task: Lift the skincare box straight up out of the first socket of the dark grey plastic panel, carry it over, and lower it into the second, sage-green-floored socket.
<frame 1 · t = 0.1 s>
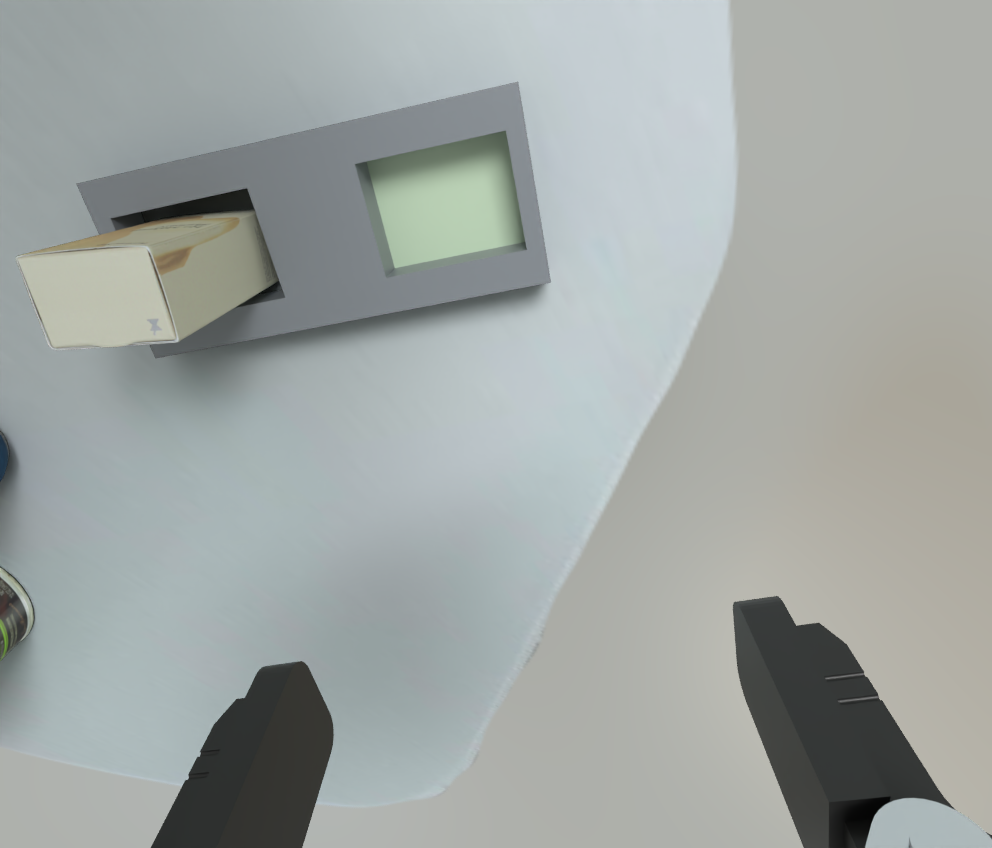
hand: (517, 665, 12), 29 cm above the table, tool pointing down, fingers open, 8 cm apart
panel: (333, 226, 37), on the table
skincare box: (224, 248, 38), resting in panel
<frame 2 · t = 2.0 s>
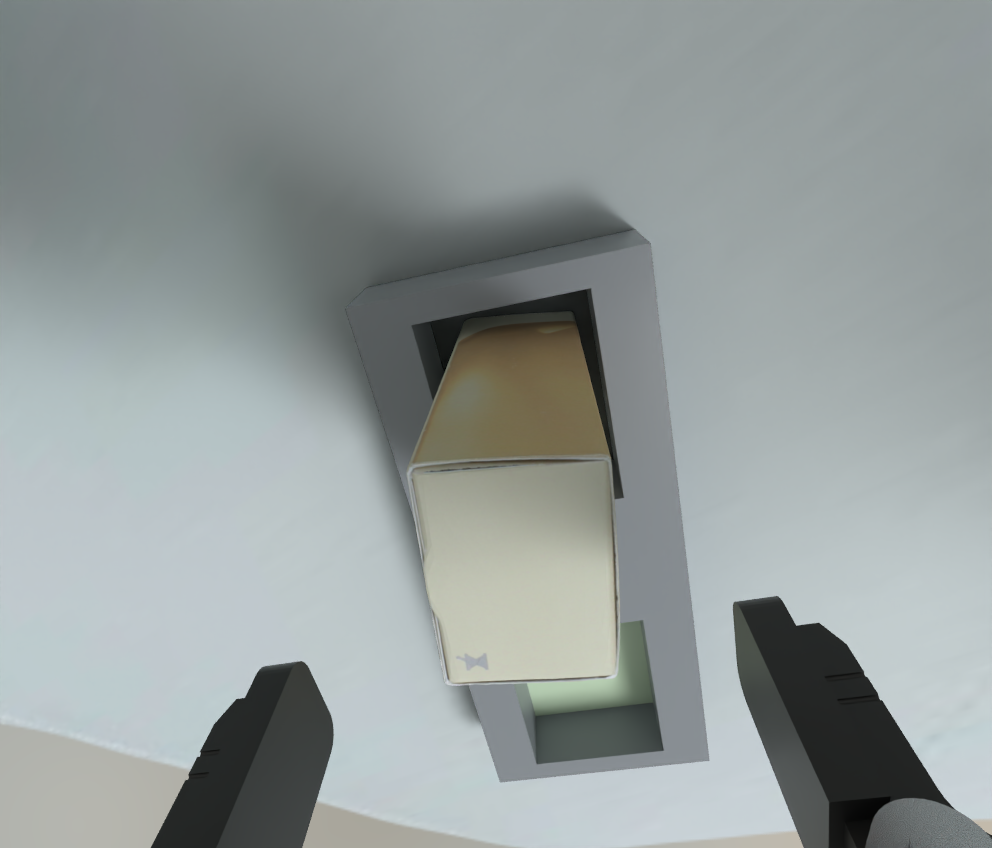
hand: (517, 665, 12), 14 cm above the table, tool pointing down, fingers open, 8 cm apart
panel: (555, 529, 27), on the table
skincare box: (524, 382, 25), resting in panel
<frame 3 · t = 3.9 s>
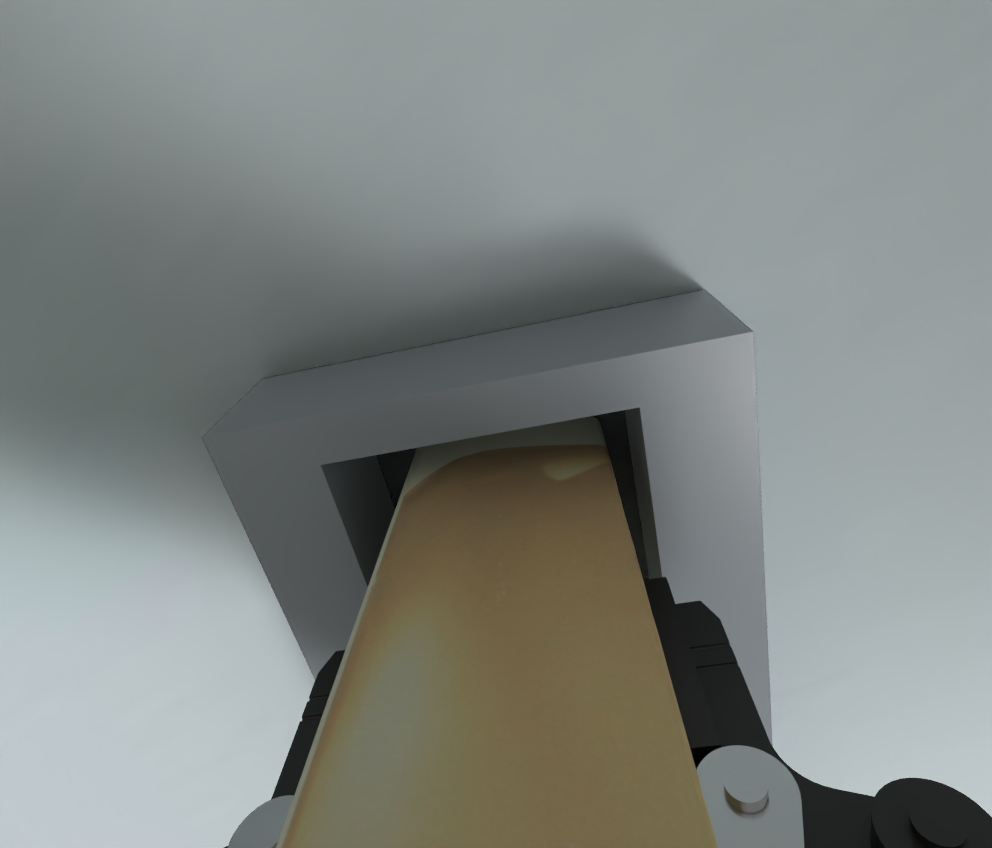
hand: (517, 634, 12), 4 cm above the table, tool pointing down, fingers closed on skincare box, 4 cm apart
panel: (565, 714, 19), on the table
skincare box: (518, 518, 16), resting in panel, touching gripper
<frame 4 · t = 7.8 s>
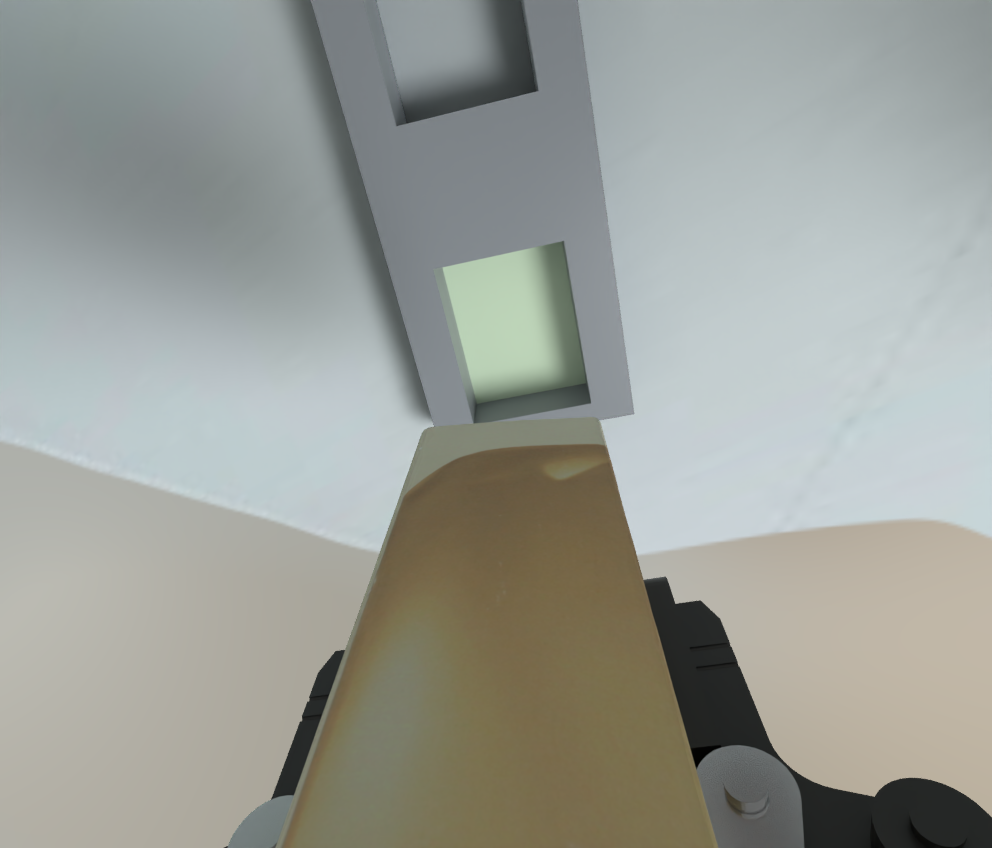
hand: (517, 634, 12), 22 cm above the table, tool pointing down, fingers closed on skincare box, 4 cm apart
panel: (486, 180, 29), on the table
skincare box: (519, 517, 16), point 18 cm above the table, touching gripper
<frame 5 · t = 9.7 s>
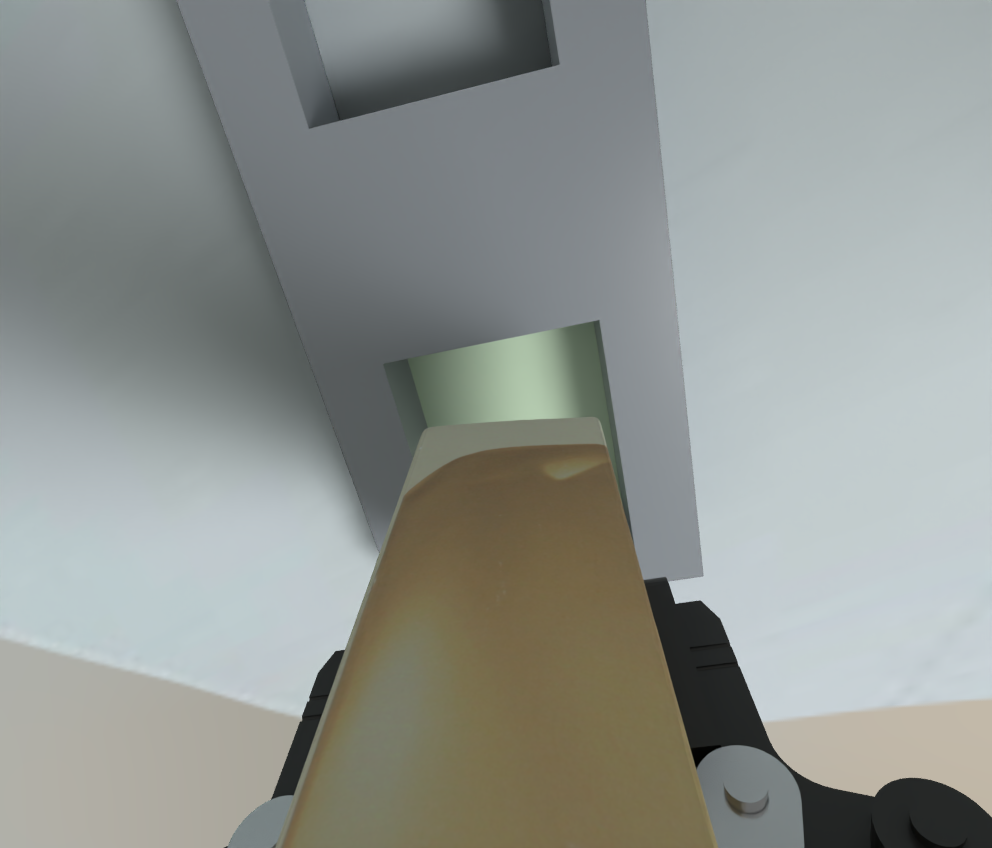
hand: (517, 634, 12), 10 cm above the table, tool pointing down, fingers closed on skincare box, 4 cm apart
panel: (471, 214, 18), on the table
skincare box: (519, 517, 16), point 6 cm above the table, touching gripper
when the fingers open (5 cm above the table, at t = 11.5 s): skincare box drops 1 cm, resting on panel.
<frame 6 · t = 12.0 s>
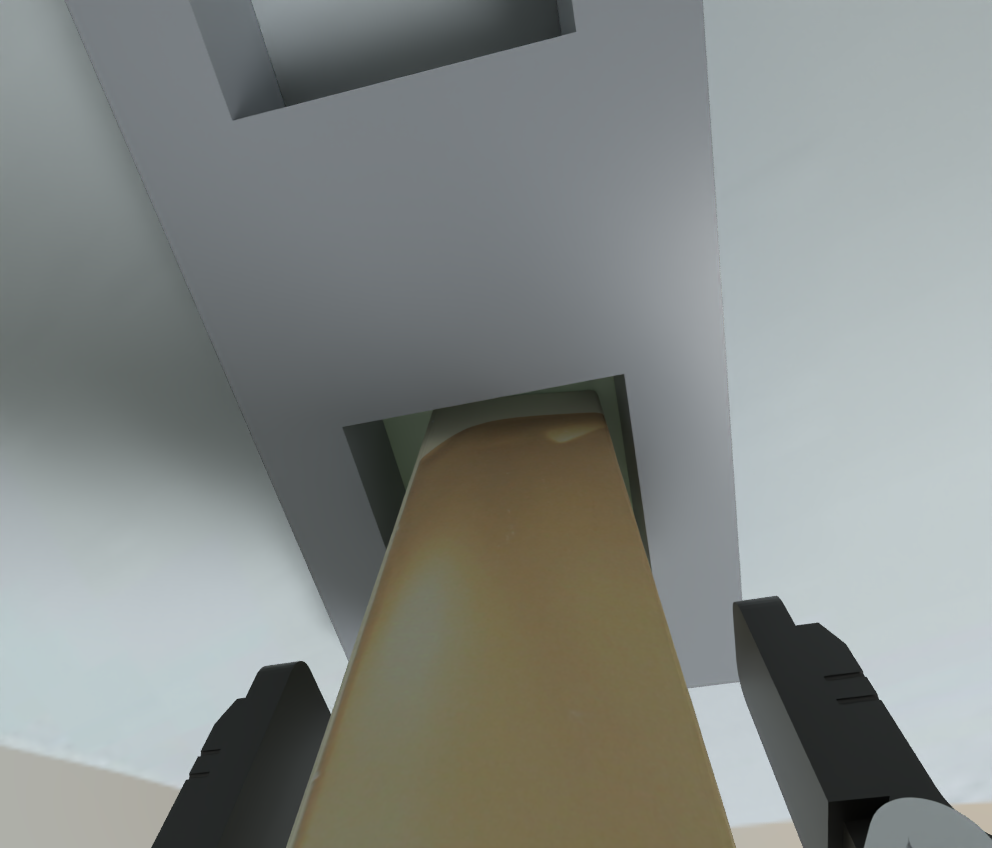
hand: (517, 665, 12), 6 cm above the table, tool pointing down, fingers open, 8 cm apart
panel: (457, 232, 14), on the table
skincare box: (524, 488, 17), resting on panel
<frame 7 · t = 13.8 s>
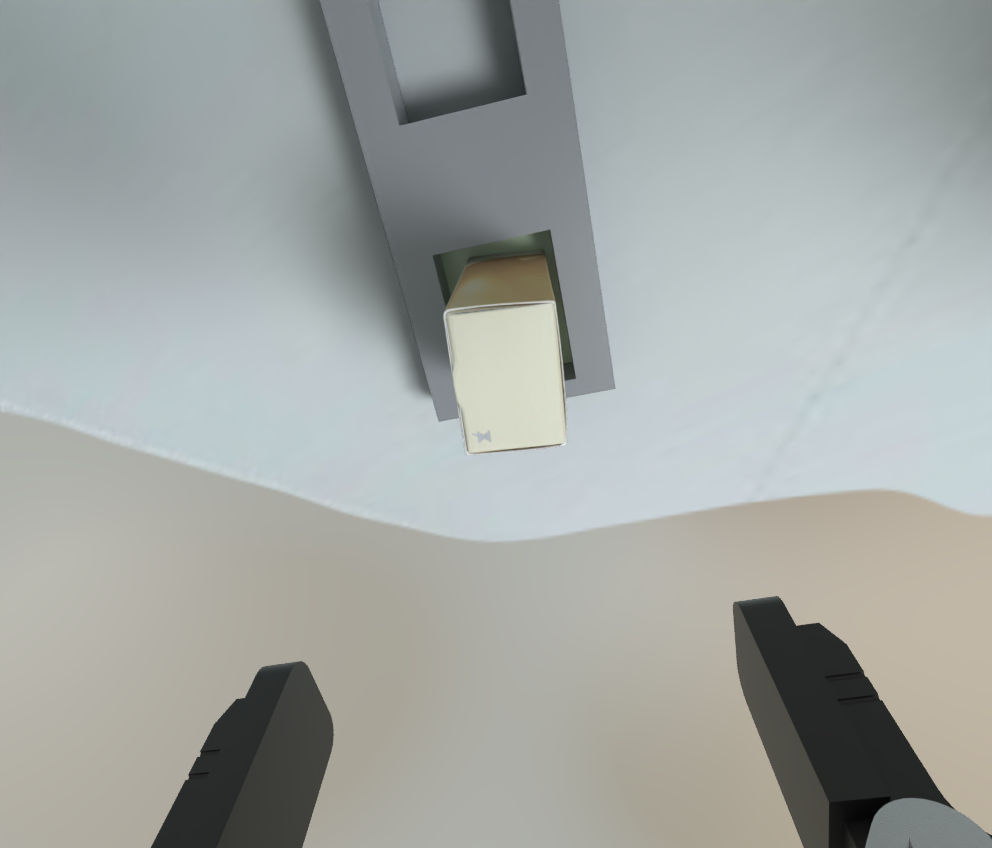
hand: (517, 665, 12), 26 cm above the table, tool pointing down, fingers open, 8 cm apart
panel: (480, 174, 32), on the table
skincare box: (511, 303, 35), resting on panel
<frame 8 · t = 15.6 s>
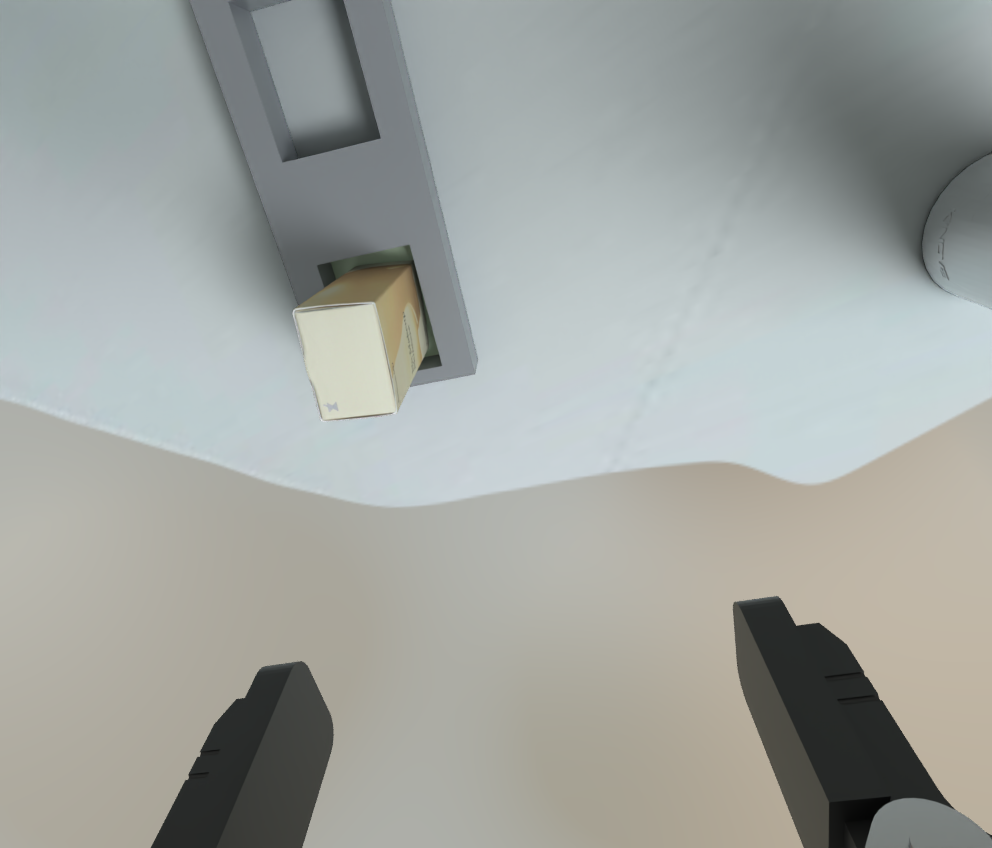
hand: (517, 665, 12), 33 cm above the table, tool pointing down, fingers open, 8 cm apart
panel: (359, 199, 40), on the table
skincare box: (392, 304, 42), resting on panel
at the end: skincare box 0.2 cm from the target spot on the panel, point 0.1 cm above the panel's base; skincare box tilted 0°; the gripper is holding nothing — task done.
